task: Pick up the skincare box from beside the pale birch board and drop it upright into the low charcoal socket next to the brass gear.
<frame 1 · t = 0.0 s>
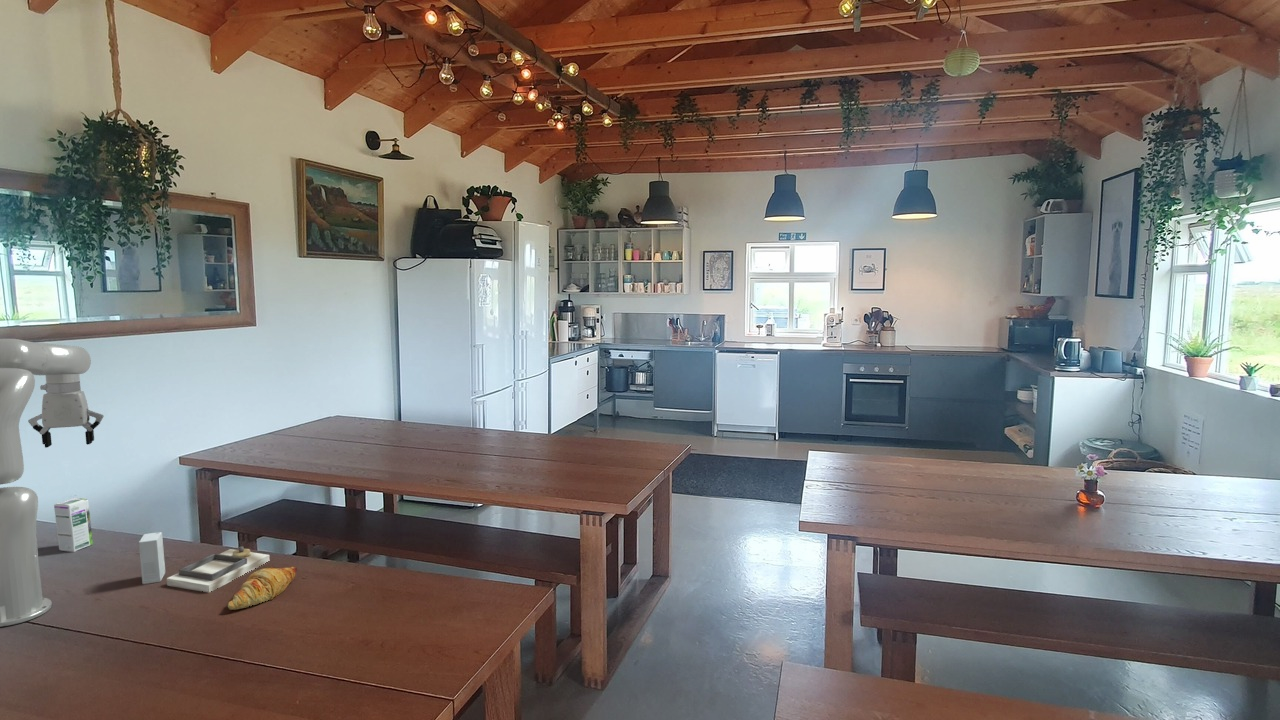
hand: (69, 444, 198), 31 cm above the table, tool pointing down, fingers open, 9 cm apart
croissant: (263, 595, 174), on the table
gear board: (220, 572, 186), on the table
syrup box: (75, 548, 201), on the table
skincare box: (153, 579, 182), on the table
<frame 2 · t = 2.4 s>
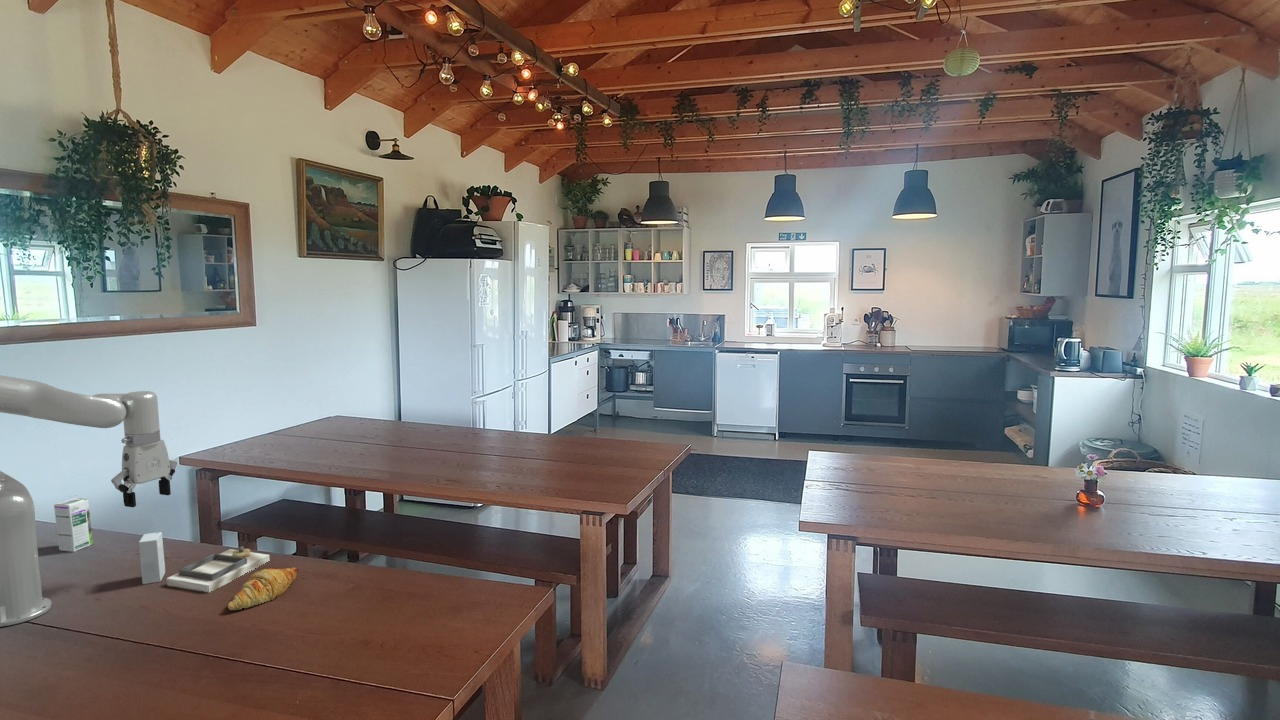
hand: (148, 500, 179), 22 cm above the table, tool pointing down, fingers open, 9 cm apart
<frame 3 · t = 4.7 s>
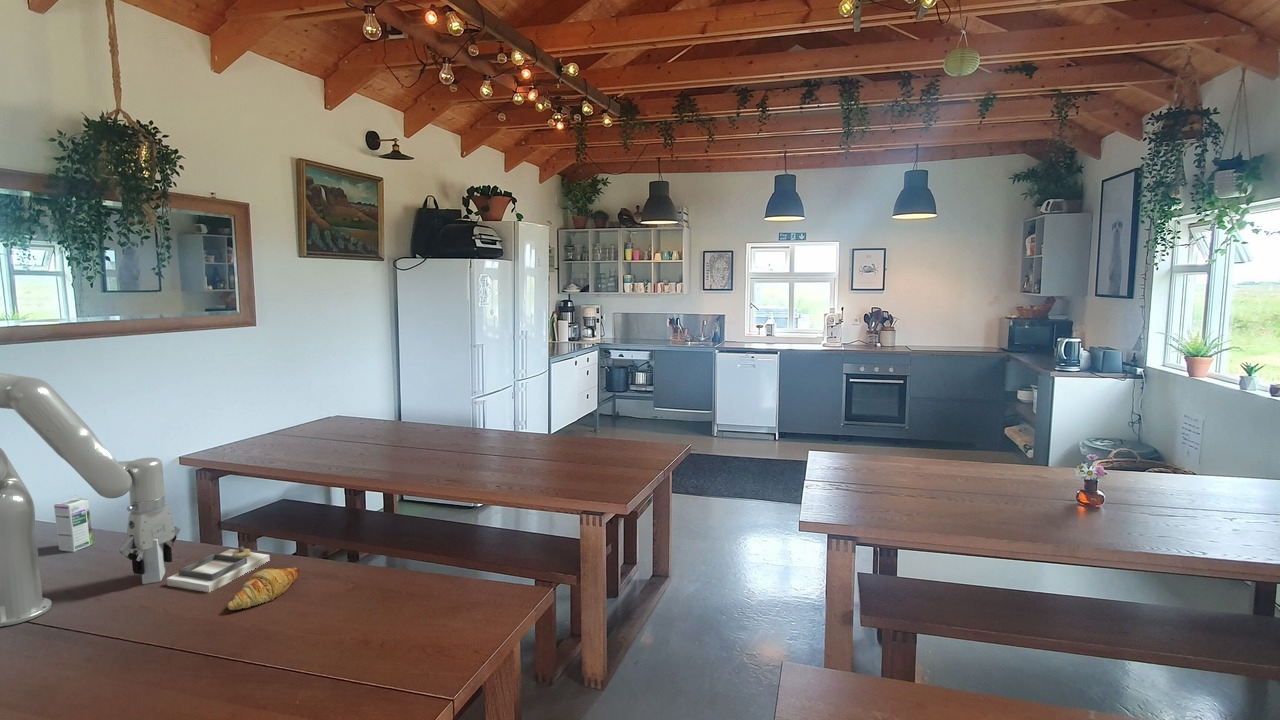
hand: (153, 566, 181), 3 cm above the table, tool pointing down, fingers closed on skincare box, 7 cm apart
skincare box: (153, 579, 182), on the table, touching gripper
everything else where it was.
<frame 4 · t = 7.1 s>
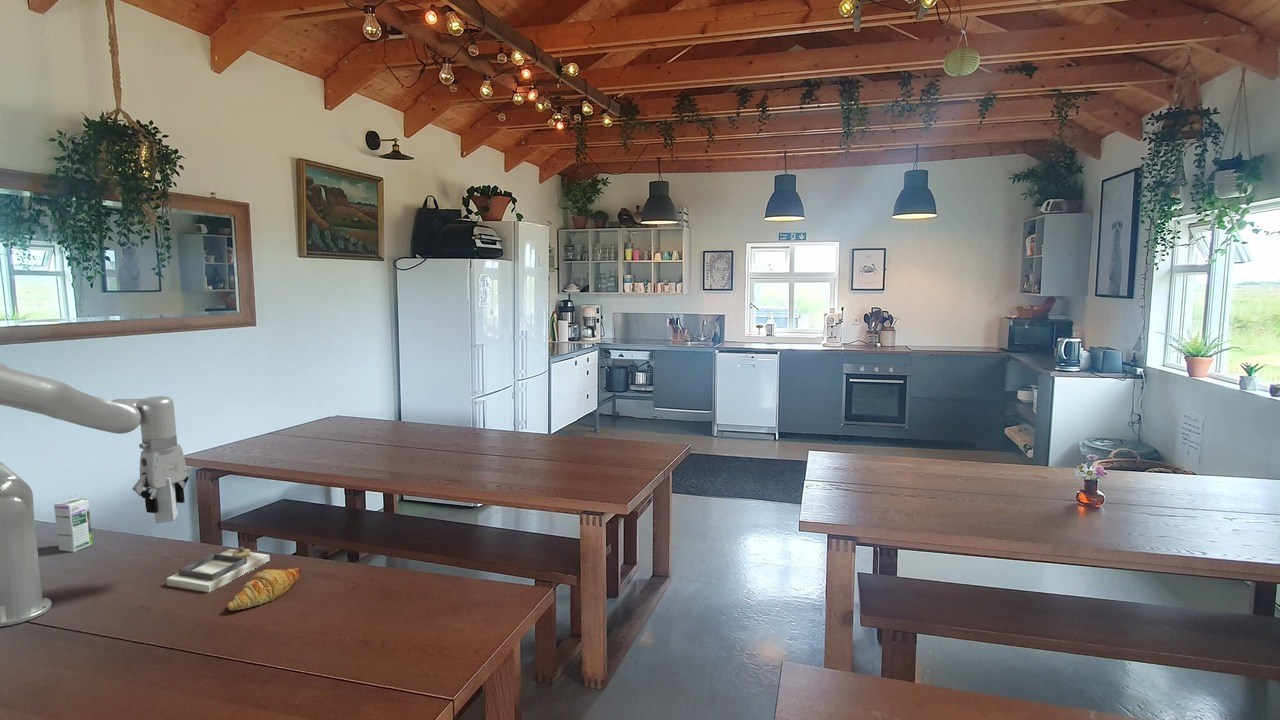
hand: (166, 506, 180), 20 cm above the table, tool pointing down, fingers closed on skincare box, 7 cm apart
skincare box: (166, 519, 180), point 17 cm above the table, touching gripper
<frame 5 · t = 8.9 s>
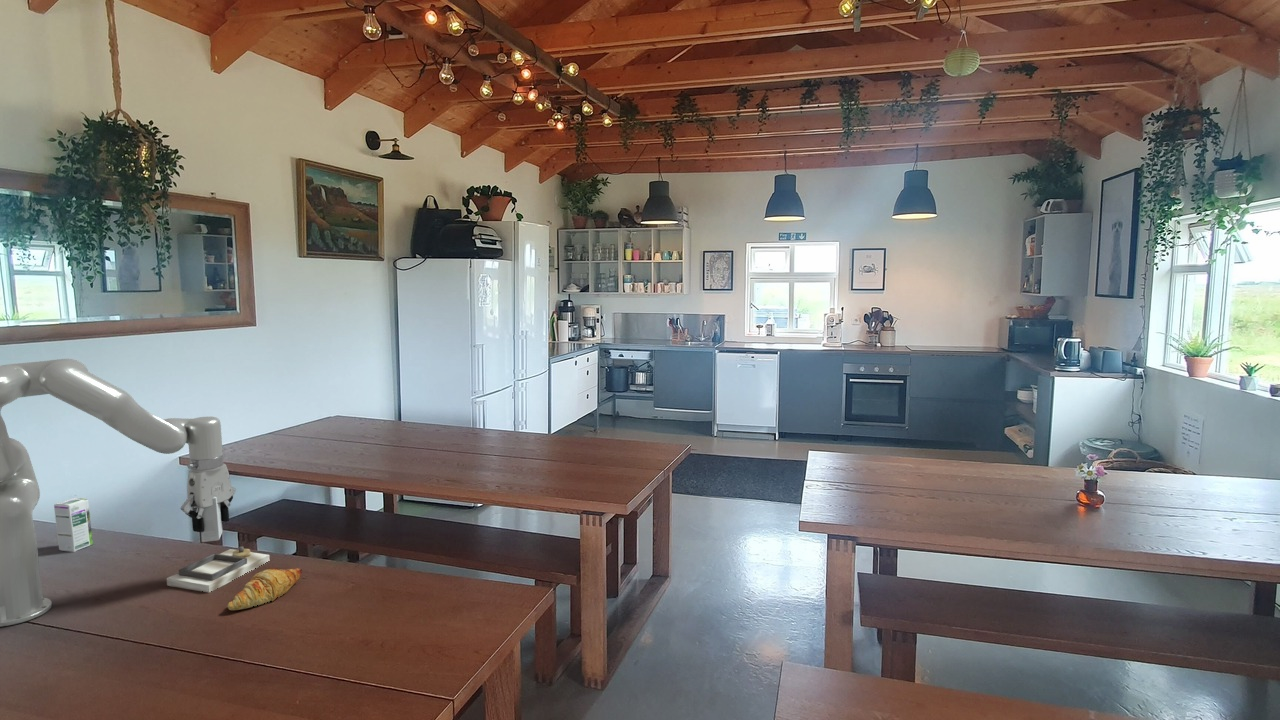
hand: (211, 525, 182), 14 cm above the table, tool pointing down, fingers closed on skincare box, 7 cm apart
skincare box: (212, 538, 182), point 11 cm above the table, touching gripper
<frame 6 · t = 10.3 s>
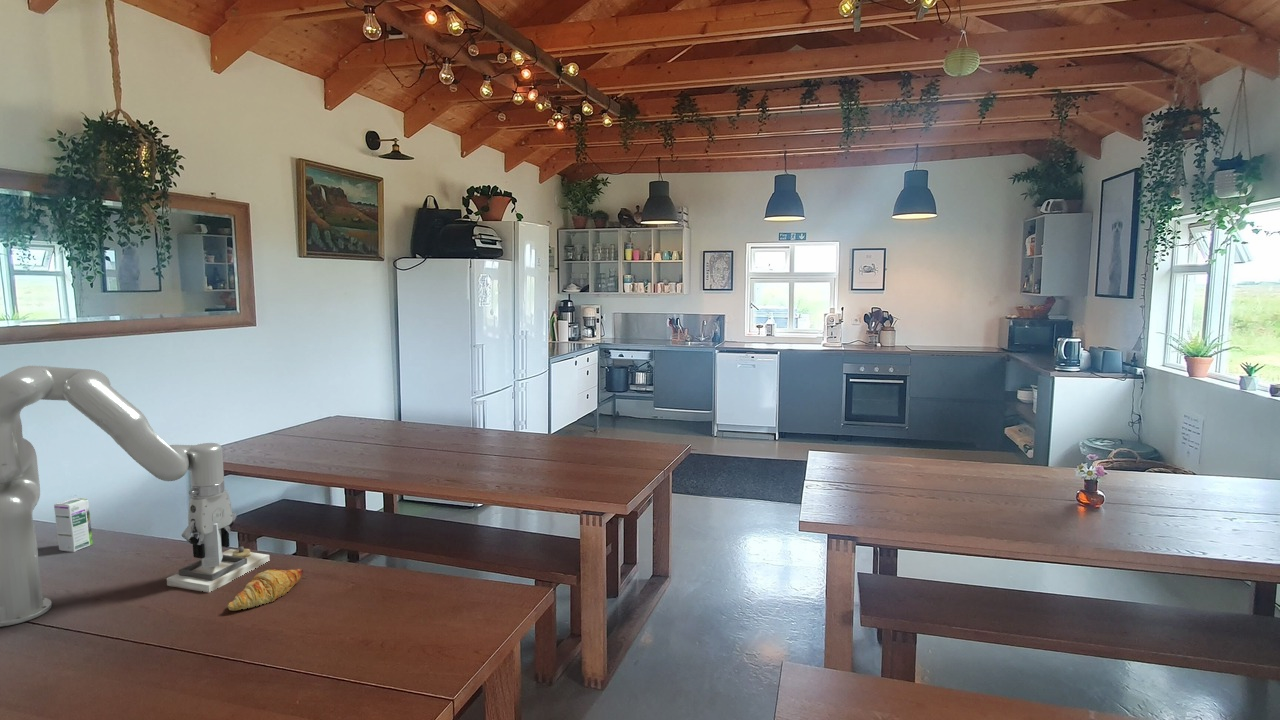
hand: (211, 551, 183), 7 cm above the table, tool pointing down, fingers closed on skincare box, 7 cm apart
skincare box: (212, 563, 183), point 4 cm above the table, touching gripper
when the fingers open (7 cm above the table, at t = 10.7 s): skincare box drops 2 cm, resting on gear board.
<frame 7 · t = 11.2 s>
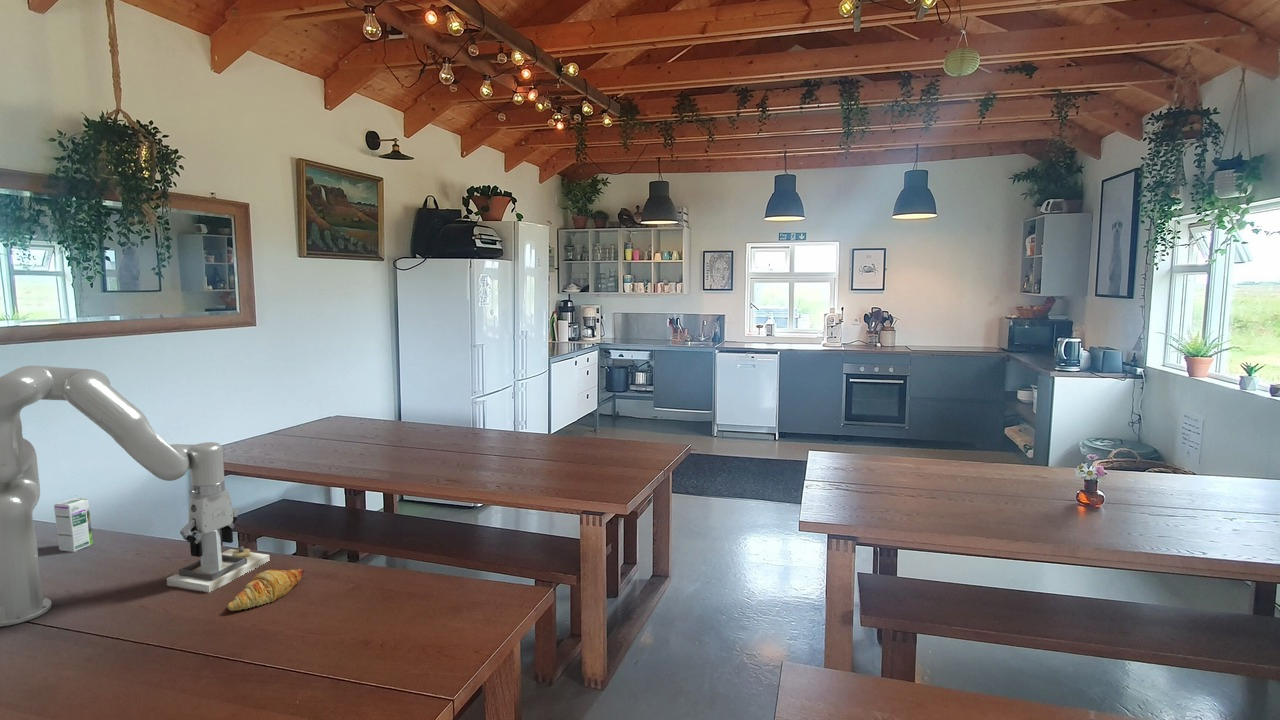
hand: (212, 548, 183), 8 cm above the table, tool pointing down, fingers open, 9 cm apart
skincare box: (212, 570, 183), point 2 cm above the table, touching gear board
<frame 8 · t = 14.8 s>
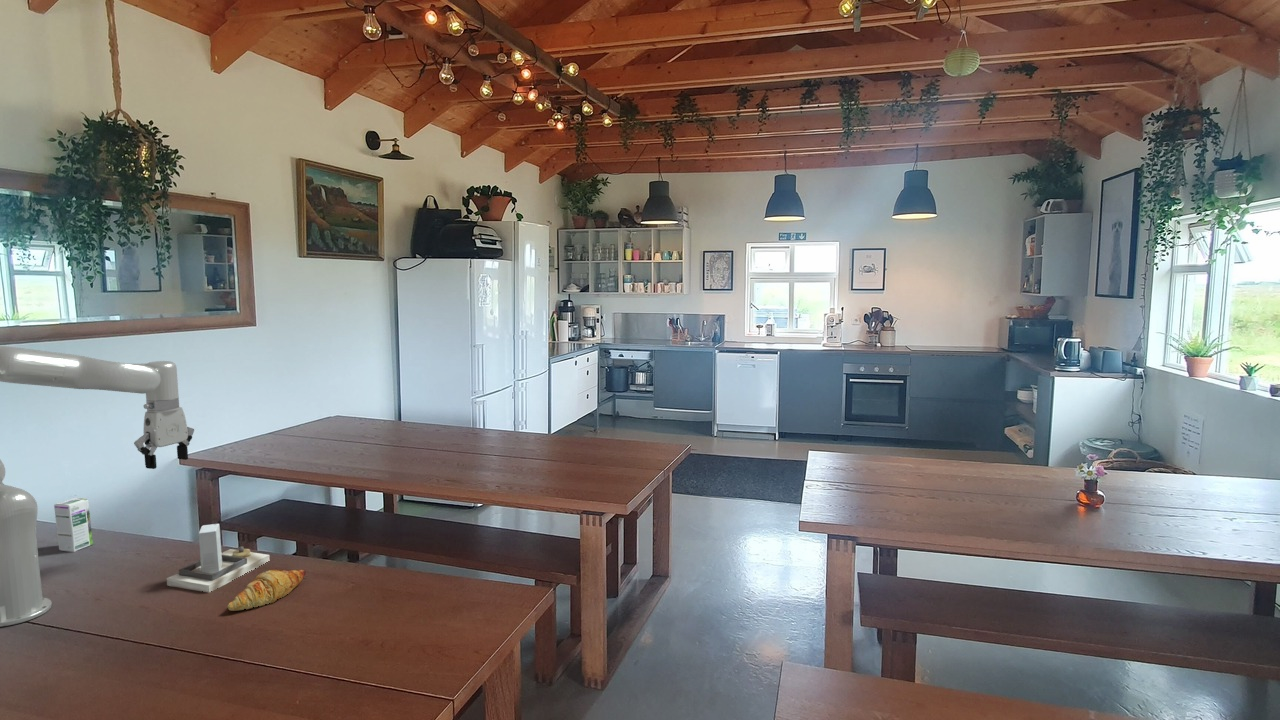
hand: (167, 463, 191), 28 cm above the table, tool pointing down, fingers open, 9 cm apart
at the end: skincare box inside the target area on the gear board (0.5 cm from its centre), point 1.8 cm above the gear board's base; skincare box tilted 0°; the gripper is holding nothing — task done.
